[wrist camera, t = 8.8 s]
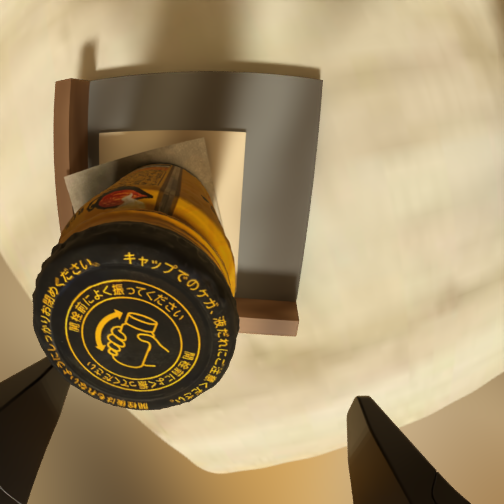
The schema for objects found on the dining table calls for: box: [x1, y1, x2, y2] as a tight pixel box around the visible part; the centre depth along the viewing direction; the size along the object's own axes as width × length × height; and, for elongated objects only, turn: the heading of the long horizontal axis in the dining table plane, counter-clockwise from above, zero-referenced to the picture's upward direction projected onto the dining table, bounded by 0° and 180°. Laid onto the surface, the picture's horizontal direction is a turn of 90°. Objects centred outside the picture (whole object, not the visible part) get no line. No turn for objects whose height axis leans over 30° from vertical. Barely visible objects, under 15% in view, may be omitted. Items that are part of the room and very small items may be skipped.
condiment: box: [32, 138, 240, 410], centre depth 12 cm, size 7×8×12 cm
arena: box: [54, 71, 323, 336], centre depth 17 cm, size 15×15×3 cm
